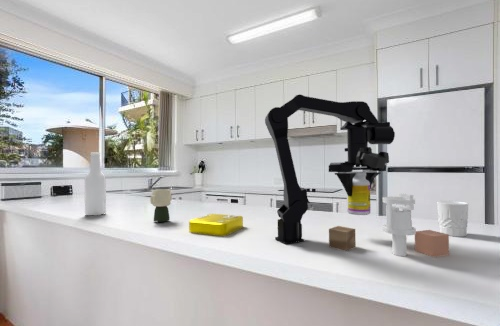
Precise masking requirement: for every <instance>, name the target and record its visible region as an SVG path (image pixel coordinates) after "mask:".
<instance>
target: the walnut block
mask: <svg viewBox="0 0 500 326" xmlns="http://www.w3.org/2000/svg"><path fill="white" fill-rule="evenodd" d="M356 244H357V243H356V228H351V227H347V226H340V225H337V226H333V227H330V228H328V245H329V248H331V249H336V250H340V251H344V252H349V251H350V250H352V249H354V248H356Z"/></svg>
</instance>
